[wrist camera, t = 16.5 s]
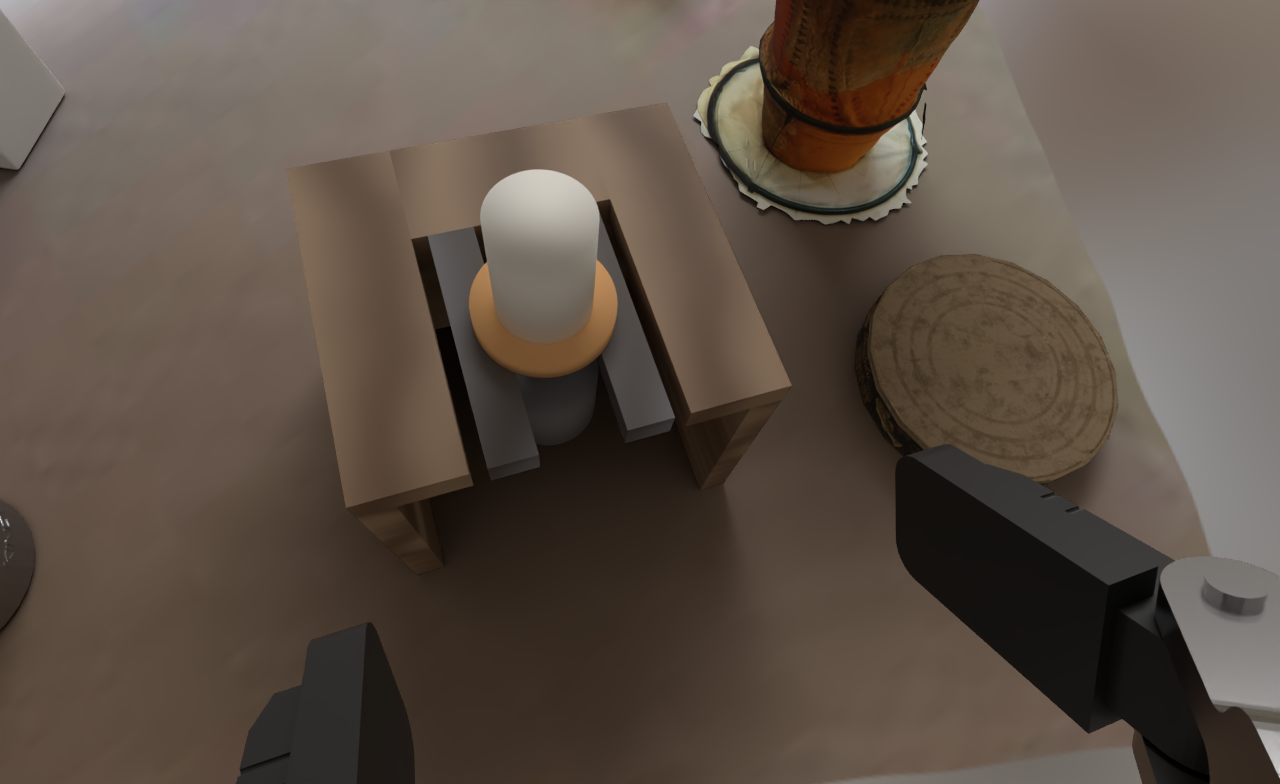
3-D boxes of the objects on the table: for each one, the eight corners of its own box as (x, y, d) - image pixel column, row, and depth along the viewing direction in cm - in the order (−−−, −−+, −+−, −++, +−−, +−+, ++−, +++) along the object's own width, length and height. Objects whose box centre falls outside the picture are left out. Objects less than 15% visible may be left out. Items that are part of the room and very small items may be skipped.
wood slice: (910, 524, 43) (934, 511, 40) (817, 300, 49) (832, 276, 46) (1130, 465, 46) (1166, 450, 44) (1018, 261, 52) (1043, 236, 49)
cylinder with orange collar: (556, 476, 37) (552, 326, 23) (468, 409, 38) (410, 223, 24) (626, 394, 40) (663, 209, 25) (541, 332, 41) (529, 120, 26)
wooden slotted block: (416, 574, 39) (345, 507, 26) (364, 323, 45) (285, 168, 32) (723, 482, 43) (792, 385, 30) (639, 262, 48) (666, 102, 36)
